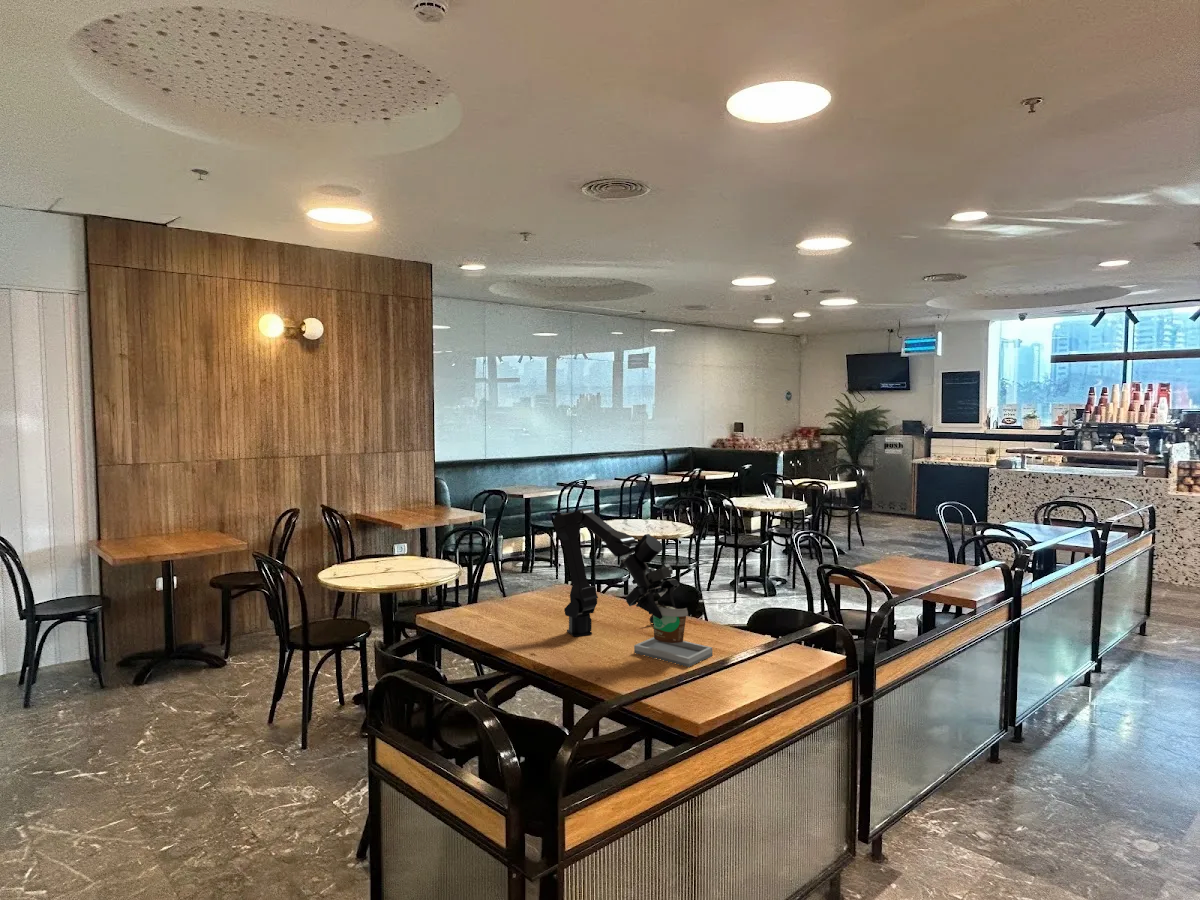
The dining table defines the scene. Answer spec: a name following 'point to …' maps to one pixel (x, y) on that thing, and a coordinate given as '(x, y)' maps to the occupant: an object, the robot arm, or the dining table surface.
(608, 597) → the dining table surface
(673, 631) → the food container
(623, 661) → the dining table surface
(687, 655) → the dock
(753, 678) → the dining table surface
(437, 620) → the dining table surface
